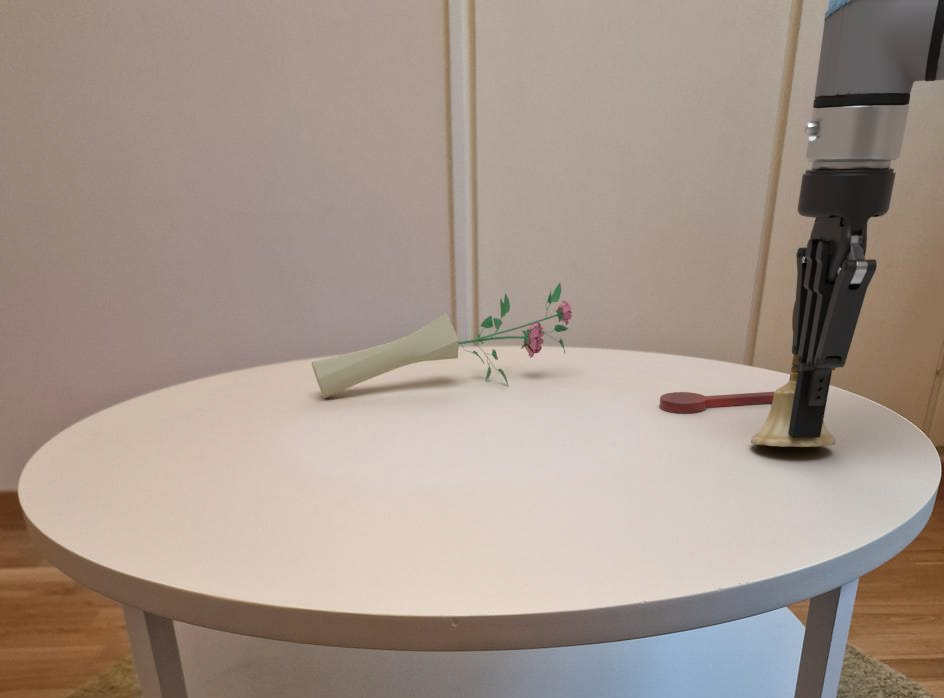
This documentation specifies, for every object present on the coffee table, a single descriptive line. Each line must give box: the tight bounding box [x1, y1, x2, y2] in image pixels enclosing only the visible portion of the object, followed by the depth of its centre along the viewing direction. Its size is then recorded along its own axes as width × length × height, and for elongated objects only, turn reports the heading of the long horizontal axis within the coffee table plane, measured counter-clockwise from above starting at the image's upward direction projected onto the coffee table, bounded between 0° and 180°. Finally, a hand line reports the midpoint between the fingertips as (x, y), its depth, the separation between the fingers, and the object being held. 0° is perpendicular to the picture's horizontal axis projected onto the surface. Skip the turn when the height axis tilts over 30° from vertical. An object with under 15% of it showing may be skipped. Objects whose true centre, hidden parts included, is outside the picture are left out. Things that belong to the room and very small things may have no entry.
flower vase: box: [311, 282, 573, 400], centre depth 119 cm, size 12×12×35 cm
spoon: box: [659, 391, 775, 414], centre depth 108 cm, size 19×6×1 cm, turn 98°
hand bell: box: [750, 299, 837, 448], centre depth 89 cm, size 8×8×16 cm
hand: (804, 435), depth 87 cm, fingers closed
